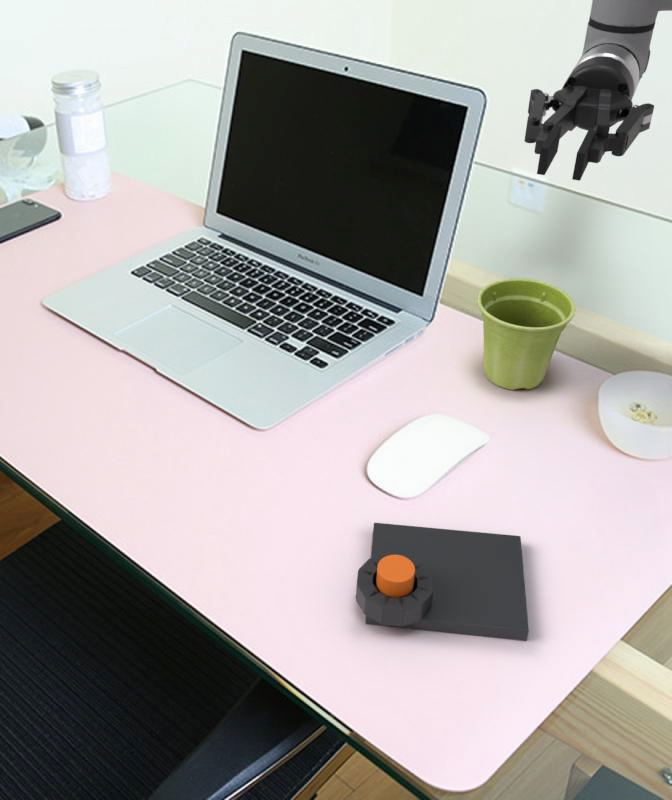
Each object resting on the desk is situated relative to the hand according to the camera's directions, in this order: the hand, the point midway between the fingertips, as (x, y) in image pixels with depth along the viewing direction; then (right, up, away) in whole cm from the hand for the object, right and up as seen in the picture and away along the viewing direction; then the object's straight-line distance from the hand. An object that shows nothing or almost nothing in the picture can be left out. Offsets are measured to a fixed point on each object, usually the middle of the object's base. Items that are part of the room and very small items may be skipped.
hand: (560, 163), depth 92 cm
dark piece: (-14, -37, -16) cm, 43 cm away
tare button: (-19, -37, -20) cm, 46 cm away
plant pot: (-3, -20, +7) cm, 22 cm away
